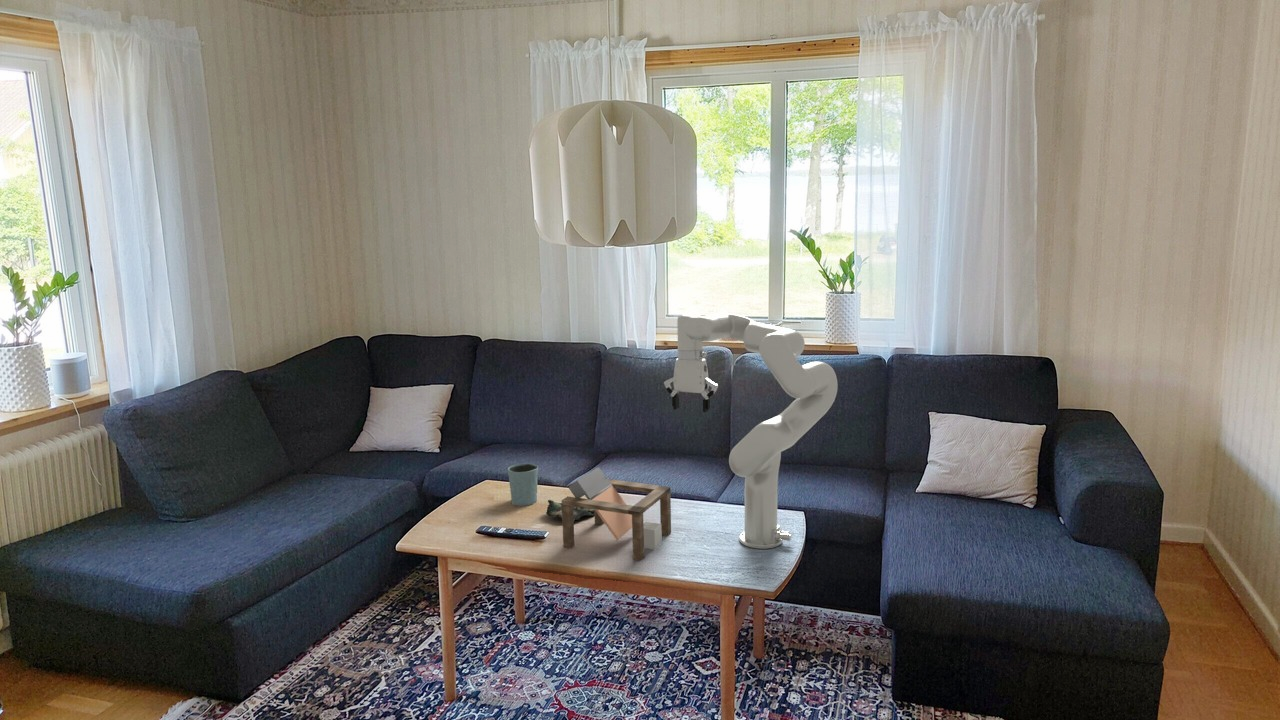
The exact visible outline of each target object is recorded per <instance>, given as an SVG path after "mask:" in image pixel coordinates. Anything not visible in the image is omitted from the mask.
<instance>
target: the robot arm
mask: <svg viewBox="0 0 1280 720" xmlns="http://www.w3.org/2000/svg"><path fill="white" fill-rule="evenodd" d="M676 324H677V358H676V359H675V363H674V368H673V369H674V370H673V377H671V378H669V379H666V380H665V381H664V382H663V384H664V387H665V388H666V391H667V392H668V393H669V395H670V397H671V401H672V403H671V405H672V408H673V410H675V411H677V409H679V408H680V395H679V393H680V392H682V393H683V392H684V393H691V394H692V393H693V394H695V393H697V394H701V396H702V397H703V398H704V399H702V413H707V412H708V411H709V410H710V408H711V398H712V397H713V396H714V395H715V393H716V392H717V390H718V388H719V385H718V383H715V382H714V381H712V380H711V379H710V378H709V371H708V365H707V359H706V358H704V357H708V352H707V351H704V347H703V345H704V344H703V343H708V342H713V341H717V340H721V339H724V338H725V339H732V340H736V341H740V342H743V347H744V349H746V351H748V352H751V353H755V354H760V358H761V359H762V361H763V362H764V364H765V366H766V367H767V368H768V370H769V372H771V374H772V375H773V377H774V378H775V380H776V381H777V382H778V384H779V385H780V387H781V388H782V389H783V391H784V392H785V393H786V394H787V395H789V396H790V397H791V398H794V399H795V400H793V401H792V402H791V403H790V404H789V405H788V407H786V408H785V409H784V410H783V411H782V412H781V413H779V414H778V415H776V416H773V417H772V418H769V419H767V420H764V421H761V422H760V423H759V424H757V425H756V426H755V427H753V428H752V429H751V430H750V431H749V432H748V433H747V434H746V435H745V436H744V437H743V438H742V439H741V440H740V441H739V442H738V443H737V444H735V446H733V448H732V449H731V451H730V453H729V458H728V464H729V467H730V469H731V471H732V472H733V473H734V474H735V475H736V476H738V477H741V478H744V531H742V532H741V533H740V534H739V538H738V540H739V542H740V543H741V544H742V545H743V546H746V547H749V548H752V549H759V550H760V549H761V550H764V549H772V548H776V547H779V546H780V545H781V544H782V543H783V540H784V541H787V542H790V541H791V540H792V534H791V533H790V531H787V530H782V529H781V525H780V524H778V490H779V489H778V488H779V487H778V484H779V483H778V482H779V471H780V467H781V466H780V465H781V459H782V457H781V456H782V455H781V454H782V452H784V451H786V450H787V449H791V447H793V446H794V445H795V444H796V443H797V442H798V441H799V440H800V439H801V438H802V437H803V436H804V435H805V434H806V433H807V432H809V430H810V429H812V427H813V426H814V425H815V424H817V422H818V421H820V420H821V419H822V417H824V416H825V415H826V414H827V412H828V411H829V410H830V408H831V407H832V406H833V403H834V402H835V400H836V397H837V394H838V387H839V386H838V379H837V374H836V372H835V370H834V368H833V367H832V366H831V365H829V364H828V363H827V362H822V361H811V362H808V363H805V364H801V363H800V361H799V360H798V359H797V358H798V357H799V356H801V355H802V353H803V352H804V349H805V346H806V345H805V344H806V343H805V342H806V341H805V339H804V337H803V335H802V334H801V333H800V332H798V331H797V330H794V329H791V328H785V327H781V326H777V325H771V324H766V323H762V322H756V321H755V320H753V319H751V318H749V317H746V316H743V315H739V314H733V313H728V312H719V313H714V314H709V315H704V316H703V315H702V316H701V315H700V314H698V313H683V314H680V315H678V317H677V323H676ZM671 383H673V387H672V386H671ZM709 387H710V388H711V389H710V391H709Z"/></svg>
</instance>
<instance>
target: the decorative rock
mask: <svg viewBox="0 0 1280 720" xmlns="http://www.w3.org/2000/svg"><path fill="white" fill-rule="evenodd" d="M547 503H548V505H547V508H546V513H545V515H546V516H548V517H554V518H558V517H559V518H560V519H562V502H556V501H554V500H551V499H549V500H547ZM583 516H585V517H586V516H591V517H592V516H593V517H595V515H594V509H590V508H583V507H577V506H573V517H574V521H575V520H579V519H580V518H581V517H583Z"/></svg>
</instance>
